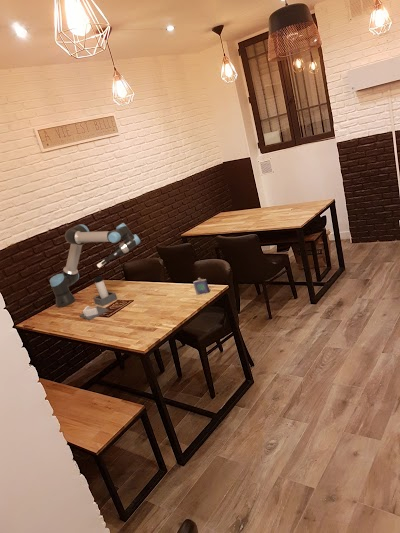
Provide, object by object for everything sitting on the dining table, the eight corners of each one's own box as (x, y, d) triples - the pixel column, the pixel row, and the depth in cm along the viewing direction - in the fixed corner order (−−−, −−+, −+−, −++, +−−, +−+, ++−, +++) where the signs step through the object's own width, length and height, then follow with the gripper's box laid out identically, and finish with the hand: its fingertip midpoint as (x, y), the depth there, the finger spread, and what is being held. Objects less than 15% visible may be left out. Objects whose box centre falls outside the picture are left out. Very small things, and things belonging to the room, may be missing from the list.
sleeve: (95, 304, 304) (93, 298, 302) (109, 297, 311) (107, 291, 309) (103, 306, 294) (100, 300, 293) (117, 298, 301) (115, 292, 300)
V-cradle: (79, 316, 286) (77, 310, 284) (98, 307, 294) (95, 301, 293) (89, 320, 273) (86, 313, 272) (108, 310, 282) (106, 303, 281)
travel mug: (111, 298, 305) (102, 274, 300) (108, 302, 299) (99, 277, 293) (104, 300, 306) (95, 276, 301) (101, 304, 300) (92, 279, 294)
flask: (196, 295, 265) (191, 279, 262) (197, 293, 268) (192, 278, 265) (209, 292, 263) (205, 277, 260) (210, 291, 265) (206, 276, 262)
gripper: (125, 253, 291) (100, 270, 287) (123, 254, 315) (100, 270, 311) (119, 244, 290) (94, 262, 286) (117, 246, 314) (94, 262, 310)
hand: (97, 266), depth 298 cm, fingers open, 13 cm apart
